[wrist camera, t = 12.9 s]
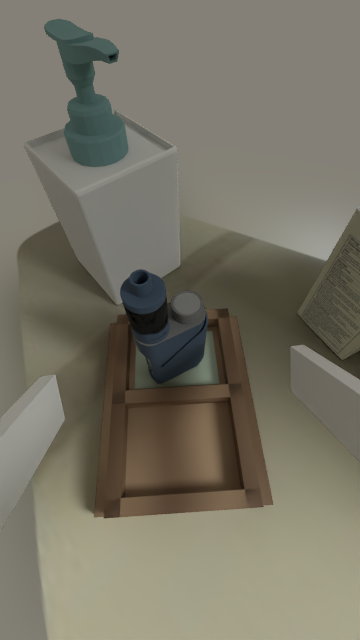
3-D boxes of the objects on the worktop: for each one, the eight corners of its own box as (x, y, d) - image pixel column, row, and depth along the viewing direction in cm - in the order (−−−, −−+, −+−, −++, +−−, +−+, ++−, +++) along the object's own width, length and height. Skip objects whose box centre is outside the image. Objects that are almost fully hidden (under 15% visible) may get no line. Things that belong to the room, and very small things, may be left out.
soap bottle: (118, 308, 29) (29, 68, 12) (77, 260, 32) (-34, 26, 16) (182, 267, 31) (178, 27, 15) (138, 227, 35) (95, -1, 19)
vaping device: (141, 364, 24) (106, 269, 14) (194, 338, 25) (198, 233, 15) (153, 389, 23) (125, 306, 12) (208, 362, 24) (224, 265, 14)
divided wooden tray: (234, 322, 27) (238, 307, 25) (268, 503, 20) (279, 505, 17) (113, 329, 27) (106, 315, 25) (98, 515, 19) (87, 519, 17)
